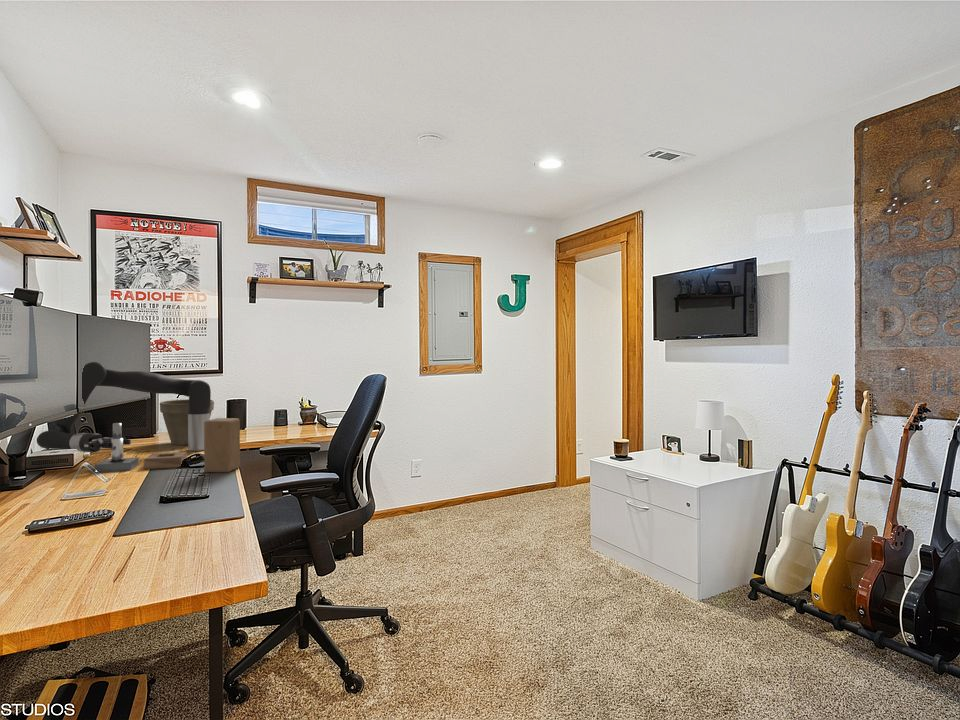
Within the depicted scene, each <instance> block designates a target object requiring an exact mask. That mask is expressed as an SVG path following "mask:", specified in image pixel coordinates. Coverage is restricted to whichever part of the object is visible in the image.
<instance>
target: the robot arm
mask: <svg viewBox="0 0 960 720" xmlns="http://www.w3.org/2000/svg"><path fill="white" fill-rule="evenodd" d="M84 365H85V366H84ZM84 365H83V366H84V368H83V372H82V399H83V401H84V404H85V405H86V403H87V401H88V399H89V397H90V396H91V394H92V392H93V391H94V389H95V388H96V387H111V388H120V389H124V390H129V391H131V390H132V391H136V392H140V393H141V392H142V393H148V394H150V393H151V394H160V395H161V394H162V395H163V394H164V395H167V394H168V395H169V394H172V395H173V394H174V395H179V396H185V397H188V399H189V408H188V445H187V447H188V449H187V451H193V452H197V451H204V422H205V421H207V420H211V416H210V405H211V396H212V393H211V386H210V384H209V383H208V382H206V381H205V380H200V379H183V378H175V377H173V376H169V375H164V374H160V373H157V372H156V373H155V372H149V371H141V370H140V371H137V370H132V371H130V370H129V371H127V370H126V371H122V370H121V371H119V370H113V369H109V368H106V367H105V366H104V364H102V363H100V362H97V361H91V362H88V363H85V364H84ZM80 416H81V413H79V414H76V415H74V416H71V417H68V418H64V419H61V420H57V421H54V420H53V421H54V422H52V425H53V426H54V427H55V428H57V431H56V430H45V431H43V432H40V433H39V434H38V436H37V437H36V443H37V445H38V447H41V448H42V449H46V450H48V449H49V448H61V449H77V450H78V451H77V452H79V451H80V452H81V453H97V452H99V451H100V450H102V449H111V448H112V447H113V443H112V442H111V439H112V438H113V437H108V436H107V437H106V436H105V437H103V435H102V434H100V433H97V432H96V433H91V432H87V433H86V432H81V433H75V432H74V433H72V432H73V427H74V426H75V424H76V422H77V420H78V419H79V417H80ZM122 438H123V446H124V445H128V446H129V445H131V439H130V438H126V437H125V436H124V437H123V436H122Z"/></svg>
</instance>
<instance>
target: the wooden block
mask: <svg viewBox="0 0 960 720" xmlns="http://www.w3.org/2000/svg"><path fill="white" fill-rule="evenodd" d="M240 423H241V421H240V418H237V417H236V418H235V417H231V418H230V417H229V418H228V417H224V418H223V417H219V418H218V417H216V418H212V419H210V420H207V421H205V422H204V450H203V451H204V452H203V456H204V457H203V459H204V460H203V462H204V463H203V465H204V466H203V468H204V469H203V470H204V473H230V472H232V471H234V470H237V469H239V468H240V467H241V447H240V446H241V437H240V436H241V424H240Z"/></svg>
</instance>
